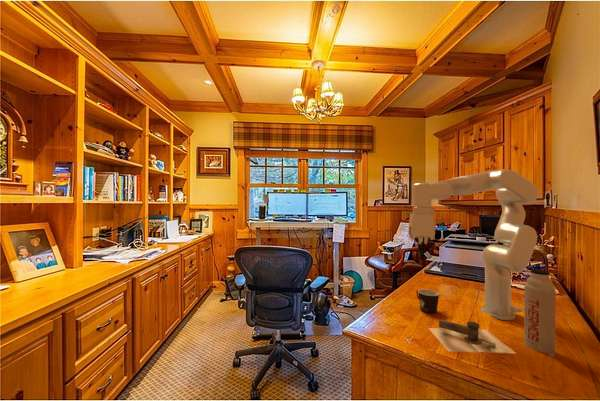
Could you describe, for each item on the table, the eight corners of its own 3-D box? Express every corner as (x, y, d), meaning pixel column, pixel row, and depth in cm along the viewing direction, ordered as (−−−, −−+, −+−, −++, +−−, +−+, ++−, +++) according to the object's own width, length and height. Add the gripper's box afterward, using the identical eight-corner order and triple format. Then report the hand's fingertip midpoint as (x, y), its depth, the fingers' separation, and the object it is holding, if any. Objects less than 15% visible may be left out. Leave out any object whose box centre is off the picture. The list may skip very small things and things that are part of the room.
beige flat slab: (486, 333, 104) (486, 328, 104) (516, 358, 88) (516, 351, 88) (428, 331, 105) (428, 326, 105) (448, 355, 90) (448, 349, 90)
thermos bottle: (539, 358, 88) (540, 273, 88) (518, 344, 96) (518, 267, 96) (561, 356, 89) (562, 273, 89) (538, 343, 97) (538, 267, 96)
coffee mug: (441, 319, 116) (441, 296, 116) (420, 317, 118) (420, 295, 118) (433, 308, 128) (434, 287, 128) (414, 306, 130) (414, 286, 129)
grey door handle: (495, 343, 93) (496, 327, 93) (494, 347, 90) (494, 331, 90) (440, 327, 104) (440, 313, 104) (438, 330, 102) (438, 316, 101)
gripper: (435, 210, 120) (435, 251, 120) (401, 210, 121) (401, 250, 121) (443, 211, 113) (443, 254, 113) (407, 211, 114) (407, 254, 114)
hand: (421, 252), depth 117 cm, fingers closed
